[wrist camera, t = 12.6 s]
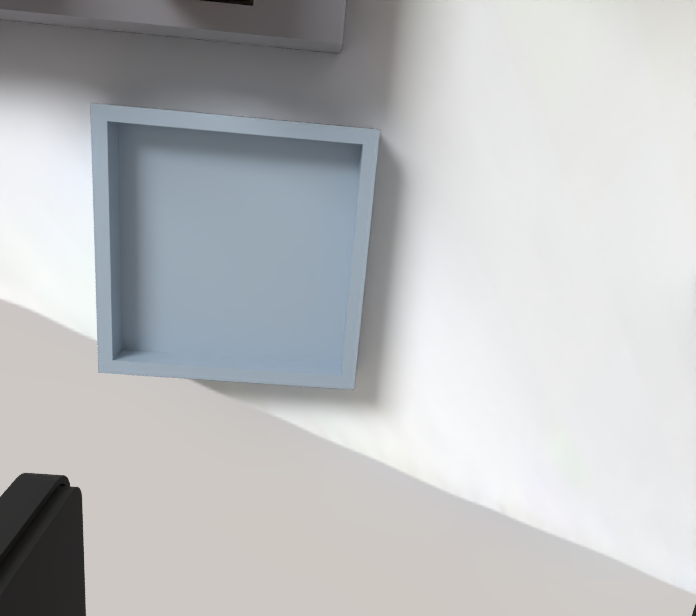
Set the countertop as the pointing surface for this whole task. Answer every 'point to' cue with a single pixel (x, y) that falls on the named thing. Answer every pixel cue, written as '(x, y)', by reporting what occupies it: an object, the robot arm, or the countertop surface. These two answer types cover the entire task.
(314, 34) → the grey two-slot holder
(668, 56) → the countertop surface
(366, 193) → the tray
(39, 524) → the robot arm
